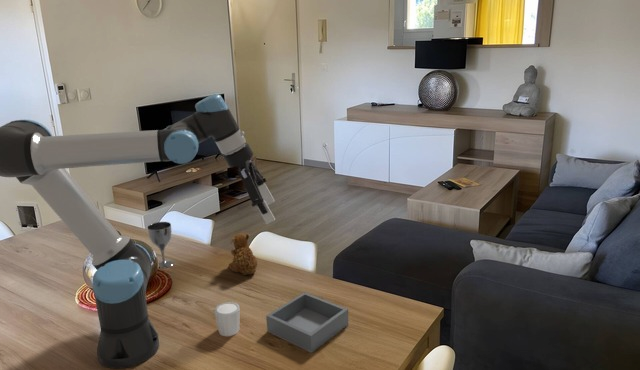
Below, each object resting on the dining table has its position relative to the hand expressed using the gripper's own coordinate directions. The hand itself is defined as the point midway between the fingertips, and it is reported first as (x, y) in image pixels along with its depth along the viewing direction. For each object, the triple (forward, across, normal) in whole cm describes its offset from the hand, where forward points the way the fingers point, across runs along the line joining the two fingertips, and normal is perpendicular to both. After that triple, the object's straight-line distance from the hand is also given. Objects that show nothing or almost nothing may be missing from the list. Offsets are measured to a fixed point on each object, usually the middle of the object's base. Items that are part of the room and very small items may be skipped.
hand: (270, 212), depth 141 cm
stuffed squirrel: (+24, +22, +22) cm, 40 cm away
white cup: (+21, -15, +24) cm, 35 cm away
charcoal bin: (+30, -17, +4) cm, 34 cm away
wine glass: (+12, +32, +50) cm, 60 cm away
